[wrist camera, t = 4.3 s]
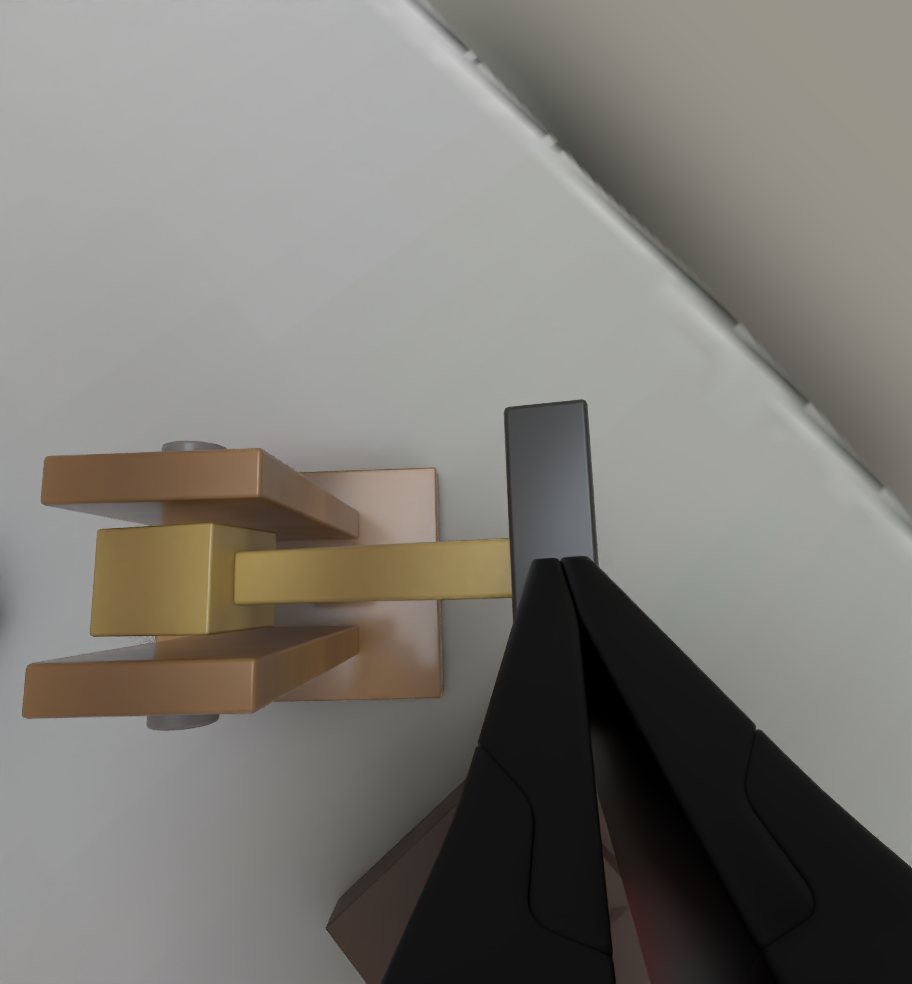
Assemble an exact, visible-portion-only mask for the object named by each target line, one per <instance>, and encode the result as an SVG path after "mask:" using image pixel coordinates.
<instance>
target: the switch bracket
mask: <svg viewBox="0 0 912 984" xmlns="http://www.w3.org/2000/svg"><path fill="white" fill-rule="evenodd" d="M41 503H42V504H43V505H46V506H51V507H56V508H62V509H67V510H72V511H77V512H83V513H88V514H93V515H98V516H103V517H109V518H114V519H119V520H124V521H130V522H135V523H140V524H145V525H150V526H160V525H175V524H191V523H207V522H214V523H220V524H226V525H233V526H239V527H245V528H252V529H258V530H264V531H271V532H275V533H276V550H279V549H299V548H319V547H340V546H360V545H380V544H400V543H420V542H440V540H439V500H438V474H437V471H436V468H408V469H380V470H352V471H323V472H297V471H295V470H294V469H292V468H290V467H289V466H287V465H286V464H284V463H283V462H281V461H280V460H278V459H277V458H275V457H274V456H272V455H270V454H269V453H267V452H266V451H264V450H263V449H260V448H250V449H227V448H225V447H223V446H220V445H217V444H213V443H207V442H199V441H176V442H170V443H166V444H164V445H163V446H162V452H142V453H115V454H87V455H60V456H48V457H45V459H44V469H43V480H42V492H41ZM442 692H443V661H442V621H441V600H410V601H370V602H331V603H291V604H275V608H274V626H272V627H267V628H259V629H252V630H244V631H236V632H228V633H221V634H213V635H185V636H156V642H153V643H148V644H142V645H136V646H130V647H124V648H118V649H112V650H106V651H100V652H95V653H89V654H83V655H77V656H71V657H65V658H59V659H53V660H47V661H42V662H36V663H32V664H29V665H28V666H27V668H26V675H25V686H24V698H23V709H22V716H23V717H24V718H27V719H36V718H77V717H119V716H147V727H148V728H149V729H153V730H162V731H169V730H183V729H190V728H196V727H201V726H205V725H209V724H211V723H214V722H216V721H217V720H218V719H219V715H220V714H244V713H254V712H256V711H258V710H260V709H261V708H263V707H265V706H267V705H268V704H270V703H272V702H284V701H325V700H366V699H406V698H440V697H441V695H442Z"/></svg>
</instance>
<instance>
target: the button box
mask: <svg viewBox="0 0 912 984" xmlns="http://www.w3.org/2000/svg"><path fill="white" fill-rule="evenodd" d="M465 781H466V780H465ZM465 781H464V782H463V783H462V784H461V785H460V786H459V787H457V788H456V789H455V790H454V791H453V792H452V793H451V794H450V795H449V796H448V797H447V798H446V799H445V800H444V801H443V802H442V803H440V804H439V805H438V806H437V807H436V808H435V809H434V810H433V811H432V812H431V813H430V814H429V815H428V816H427V817H426V818H425V819H423V820H422V821H421V822H420V823H419V824H418V825H417V826H416V827H415V828H414V829H413V830H412V831H411V832H410V833H409V834H408V835H406V836H405V837H404V838H403V839H402V840H401V841H400V842H399V843H398V844H397V845H396V846H395V847H394V848H393V849H392V850H391V851H389V852H388V853H387V854H386V855H385V856H384V857H383V858H382V859H381V860H380V861H379V862H378V863H377V864H376V865H375V866H374V867H372V868H371V869H370V870H369V871H368V872H367V873H366V874H365V875H364V876H363V877H362V878H361V879H360V880H359V881H358V882H357V883H356V884H354V885H353V886H352V887H351V888H350V889H349V890H348V891H347V892H346V893H345V894H344V895H343V896H342V897H341V898H340V899H339V900H338V901H337V904H336V906H335V908H334V910H333V913H332V915H331V917H330V919H329V922H328V924H327V926H326V930H327V931H328V933H329V934H330V935H331V937H332V938H333V939H334V941H335V942H336V943H337V944H338V946H339V947H340V948H341V950H342V951H343V952H344V954H345V955H346V956H347V958H348V959H349V960H350V962H351V963H352V964H353V966H354V967H355V968H356V970H357V971H358V972H359V974H360V975H361V976H362V978H363V979H364V980H365V982H366V983H367V984H380V982H381V980H382V977H383V975H384V973H385V971H386V969H387V967H388V965H389V963H390V960H391V958H392V956H393V954H394V951H395V949H396V947H397V945H398V943H399V940H400V938H401V936H402V934H403V931H404V929H405V927H406V925H407V922H408V920H409V918H410V916H411V914H412V911H413V909H414V907H415V905H416V902H417V900H418V898H419V896H420V893H421V891H422V889H423V887H424V885H425V882H426V880H427V878H428V876H429V873H430V871H431V869H432V867H433V864H434V862H435V860H436V858H437V855H438V853H439V850H440V848H441V846H442V843H443V841H444V838H445V836H446V833H447V831H448V828H449V826H450V823H451V821H452V819H453V816H454V814H455V811H456V808H457V805H458V802H459V799H460V796H461V793H462V790H463V787H464V784H465ZM596 791H597V789H596ZM597 801H598V811H599V820H600V830H601V840H602V850H603V860H604V869H605V879H606V889H607V899H608V908H609V918H610V928H611V938H612V947H613V956H612V960H613V962H614V968H615V977H616V984H651V982H650V979H649V975H648V972H647V968H646V964H645V961H644V957H643V954H642V950H641V947H640V943H639V939H638V936H637V932H636V929H635V925H634V921H633V918H632V914H631V911H630V907H629V903H628V900H627V896H626V893H625V889H624V886H623V882H622V878H621V875H620V871H619V868H618V864H617V860H616V857H615V853H614V850H613V846H612V843H611V839H610V835H609V832H608V828H607V825H606V821H605V817H604V814H603V810H602V807H601V803H600V800H599V796H598V792H597Z"/></svg>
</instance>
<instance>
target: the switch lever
mask: <svg viewBox="0 0 912 984" xmlns="http://www.w3.org/2000/svg"><path fill="white" fill-rule="evenodd" d="M504 428H505V450H506V473H507V495H508V518H509V538H501V539H481V540H461V541H441V542H420V543H400V544H380V545H360V546H340V547H319V548H299V549H279V550H276V533H275V532H271V531H264V530H258V529H252V528H245V527H239V526H233V525H226V524H220V523H214V522H207V523H191V524H175V525H160V526H144V527H128V528H112V529H100V530H98V532H97V543H96V557H95V571H94V585H93V599H92V613H91V627H90V635H91V636H94V637H100V636H185V635H213V634H221V633H228V632H236V631H244V630H252V629H259V628H267V627H272V626H274V608H275V604H291V603H331V602H370V601H410V600H449V599H489V598H512V608H513V622H514V618H515V615H516V612H517V608H518V605H519V602H520V598H521V595H522V591H523V588H524V585H525V581H526V578H527V575H528V571H529V568H530V564H531V562H532V561H533V560H534V559H543V558H557V559H559V561H560V560H561V559H562V558H563V557H573V556H587V557H589V558H590V559H592V561H593V562H594V563H595V564H596V565H597V566H598V567H599V564H598V549H597V535H596V520H595V506H594V491H593V477H592V462H591V448H590V433H589V420H588V407H587V403H586V401H585V400H582V399H581V400H572V401H562V402H552V403H542V404H532V405H523V406H513V407H507V408H505V411H504Z"/></svg>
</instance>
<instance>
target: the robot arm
mask: <svg viewBox="0 0 912 984" xmlns="http://www.w3.org/2000/svg"><path fill="white" fill-rule="evenodd" d="M596 789H597V791H596ZM597 792H598V796H599V800H600V803H601V807H602V810H603V814H604V817H605V821H606V825H607V828H608V832H609V835H610V839H611V843H612V846H613V850H614V853H615V857H616V860H617V864H618V868H619V871H620V875H621V878H622V882H623V886H624V889H625V893H626V896H627V900H628V903H629V907H630V911H631V914H632V918H633V921H634V925H635V929H636V932H637V936H638V939H639V943H640V947H641V950H642V954H643V957H644V961H645V964H646V968H647V972H648V975H649V979H650V982H651V984H912V868H911V867H910V866H909V865H908V864H907V863H906V862H904V861H903V860H902V859H901V858H900V857H899V856H897V855H896V854H895V853H894V852H893V851H892V850H890V849H889V848H888V847H887V846H886V845H884V844H883V843H882V842H881V841H880V840H879V839H877V838H876V837H875V836H874V835H873V834H872V833H870V832H869V831H868V830H867V829H866V828H865V827H864V826H862V825H861V824H860V823H859V822H858V821H857V820H856V819H855V818H853V817H852V816H851V815H850V814H849V813H848V812H847V811H846V810H844V809H843V808H842V807H841V806H840V805H839V804H838V803H836V802H835V801H834V800H833V799H832V798H831V797H830V796H829V795H827V794H826V793H825V792H824V791H823V790H822V789H821V788H820V787H819V786H818V785H817V784H816V783H815V782H814V781H813V780H811V779H810V778H809V777H808V776H807V775H806V774H805V773H804V772H803V771H802V770H801V769H800V768H799V767H798V766H797V765H796V764H795V763H794V762H793V761H792V760H791V759H790V758H789V757H788V756H787V755H785V754H784V753H783V752H782V751H781V750H780V749H779V748H778V747H777V745H776V744H775V743H774V742H773V741H772V740H771V739H770V738H769V737H768V736H767V735H766V734H765V733H764V732H763V731H762V730H756V725H755V724H754V723H753V722H752V721H751V720H750V719H749V718H748V717H747V716H746V715H745V714H744V713H743V712H742V711H741V710H740V709H739V708H738V706H737V705H736V704H735V703H734V702H733V701H732V700H731V699H730V698H729V697H728V696H727V695H726V694H725V693H724V692H723V691H722V690H721V689H720V688H719V687H718V686H717V685H716V684H715V683H714V682H713V681H712V680H711V679H710V678H709V677H708V676H707V675H706V674H705V673H704V672H703V671H702V670H701V669H700V668H699V667H698V666H697V665H696V664H695V663H694V662H693V661H692V660H691V659H690V658H689V657H688V656H687V655H686V654H685V653H684V652H683V651H682V650H681V649H680V648H679V647H678V646H677V645H676V644H675V643H674V642H673V641H672V640H671V639H670V638H669V637H668V636H667V635H666V634H665V633H664V632H663V631H662V630H661V629H660V628H659V627H658V626H657V625H656V624H655V623H654V622H653V621H652V620H651V619H650V618H649V617H648V616H647V615H646V614H645V613H644V612H643V611H642V610H641V609H640V608H639V607H638V606H637V605H636V604H635V603H634V602H633V601H632V600H631V599H630V598H629V597H628V596H627V595H626V594H625V593H624V592H623V591H622V590H621V589H620V588H619V587H618V586H617V585H616V584H615V583H614V582H613V581H612V580H611V579H610V578H609V577H608V576H607V575H606V574H605V573H604V572H603V571H602V570H601V569H600V568H599V567H598V566H597V565H596V564H595V563H594V562H593V561H592V559H590V558H589V557H587V556H573V557H563V558H562V559H561V560H560V561H559V559H557V558H543V559H534V560H533V561H532V562H531V564H530V568H529V571H528V575H527V578H526V581H525V585H524V588H523V591H522V595H521V598H520V602H519V605H518V608H517V612H516V615H515V618H514V622H513V625H512V629H511V632H510V635H509V639H508V642H507V645H506V649H505V652H504V656H503V659H502V662H501V666H500V669H499V672H498V676H497V679H496V682H495V686H494V689H493V693H492V696H491V699H490V703H489V706H488V709H487V713H486V716H485V720H484V723H483V726H482V730H481V733H480V736H479V740H478V746H477V747H476V749H475V752H474V755H473V759H472V762H471V765H470V769H469V772H468V775H467V778H466V781H465V784H464V787H463V790H462V793H461V796H460V799H459V802H458V805H457V808H456V811H455V814H454V816H453V819H452V821H451V823H450V826H449V828H448V831H447V833H446V836H445V838H444V841H443V843H442V846H441V848H440V850H439V853H438V855H437V858H436V860H435V862H434V864H433V867H432V869H431V871H430V873H429V876H428V878H427V880H426V882H425V885H424V887H423V889H422V891H421V893H420V896H419V898H418V900H417V902H416V905H415V907H414V909H413V911H412V914H411V916H410V918H409V920H408V922H407V925H406V927H405V929H404V931H403V934H402V936H401V938H400V940H399V943H398V945H397V947H396V949H395V951H394V954H393V956H392V958H391V960H390V963H389V965H388V967H387V969H386V971H385V973H384V975H383V977H382V980H381V982H380V984H616V977H615V968H614V962H613V960H612V956H613V947H612V938H611V928H610V918H609V908H608V899H607V889H606V879H605V869H604V860H603V850H602V840H601V830H600V820H599V811H598V801H597Z"/></svg>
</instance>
